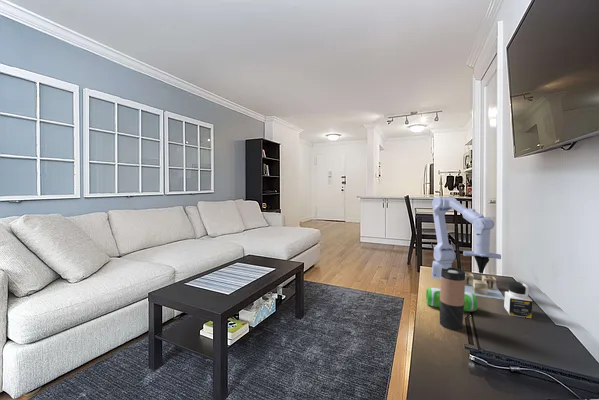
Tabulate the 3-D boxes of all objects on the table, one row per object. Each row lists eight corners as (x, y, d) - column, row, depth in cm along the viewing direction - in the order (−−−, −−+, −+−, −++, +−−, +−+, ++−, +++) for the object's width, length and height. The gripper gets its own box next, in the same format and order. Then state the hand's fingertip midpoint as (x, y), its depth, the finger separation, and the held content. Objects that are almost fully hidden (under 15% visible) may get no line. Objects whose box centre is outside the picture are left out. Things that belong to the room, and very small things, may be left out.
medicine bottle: (509, 315, 110) (510, 285, 109) (503, 307, 116) (505, 279, 115) (531, 318, 107) (533, 287, 106) (524, 311, 114) (526, 281, 113)
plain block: (474, 293, 130) (474, 282, 129) (472, 289, 134) (473, 279, 134) (487, 295, 128) (487, 284, 127) (484, 291, 132) (485, 280, 132)
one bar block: (461, 285, 140) (462, 274, 140) (460, 281, 145) (460, 271, 145) (473, 286, 138) (473, 276, 138) (471, 283, 143) (472, 273, 143)
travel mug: (462, 332, 96) (465, 275, 95) (437, 326, 100) (440, 271, 99) (463, 323, 103) (465, 269, 101) (440, 318, 107) (442, 266, 105)
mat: (463, 294, 129) (463, 293, 129) (458, 281, 148) (458, 280, 148) (505, 301, 123) (506, 299, 123) (495, 286, 141) (495, 284, 141)
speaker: (427, 308, 115) (428, 290, 115) (425, 301, 122) (426, 284, 122) (477, 315, 109) (478, 296, 109) (472, 307, 116) (473, 290, 116)
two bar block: (483, 288, 136) (483, 278, 136) (481, 285, 141) (481, 275, 140) (495, 290, 134) (496, 279, 134) (493, 286, 139) (493, 276, 138)
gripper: (465, 243, 129) (464, 272, 130) (503, 246, 123) (501, 277, 124) (463, 240, 135) (462, 268, 136) (499, 243, 130) (497, 272, 131)
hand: (480, 272), depth 131 cm, fingers closed
